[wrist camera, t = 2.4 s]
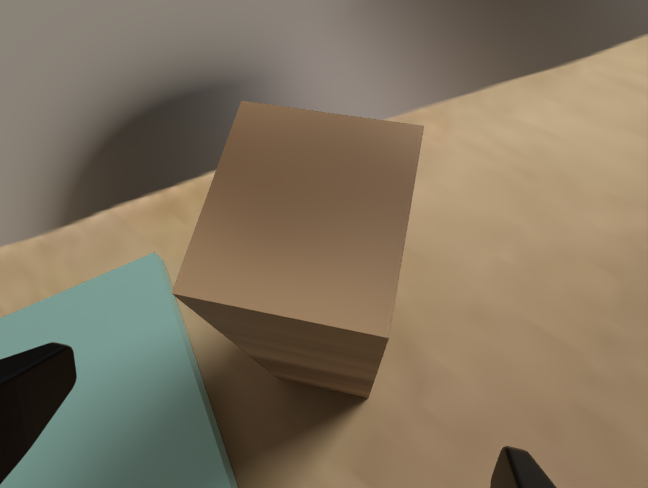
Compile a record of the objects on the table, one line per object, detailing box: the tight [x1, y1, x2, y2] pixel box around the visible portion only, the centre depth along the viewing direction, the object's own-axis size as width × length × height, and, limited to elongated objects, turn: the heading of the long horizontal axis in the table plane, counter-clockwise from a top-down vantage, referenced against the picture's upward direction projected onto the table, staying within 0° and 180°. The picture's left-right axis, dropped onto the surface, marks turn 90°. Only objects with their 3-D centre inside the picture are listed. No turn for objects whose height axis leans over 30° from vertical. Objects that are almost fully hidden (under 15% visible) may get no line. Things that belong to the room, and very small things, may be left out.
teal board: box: [0, 252, 238, 488], centre depth 19 cm, size 12×12×1 cm
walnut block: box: [172, 101, 424, 398], centre depth 15 cm, size 4×4×12 cm
